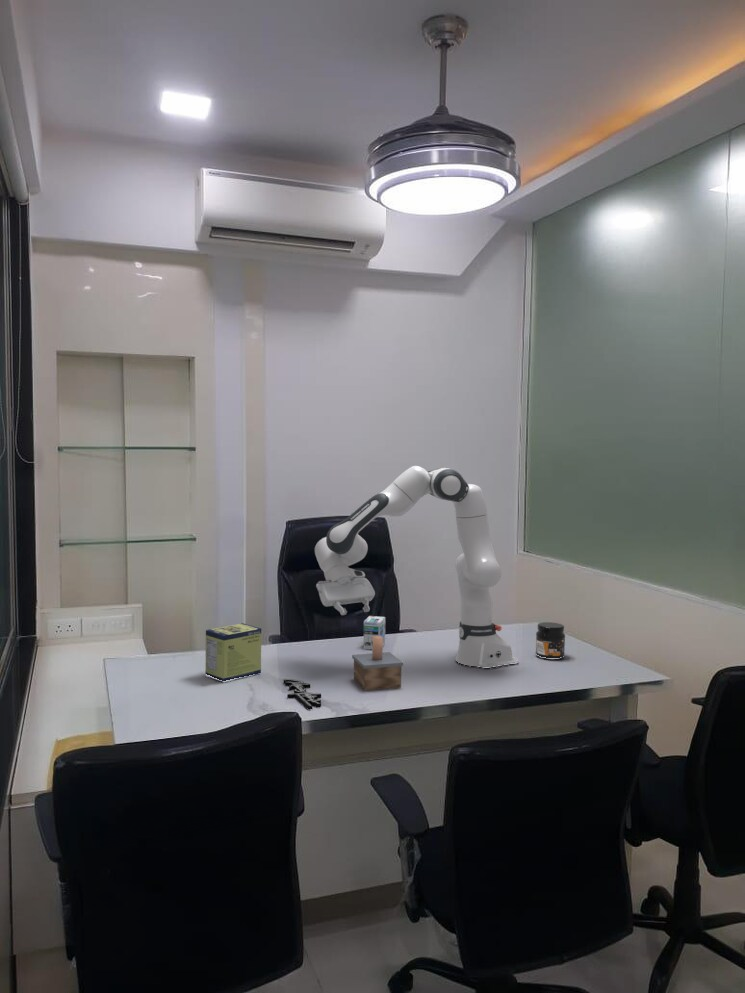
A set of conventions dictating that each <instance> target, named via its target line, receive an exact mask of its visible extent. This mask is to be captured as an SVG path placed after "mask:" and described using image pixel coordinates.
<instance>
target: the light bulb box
mask: <svg viewBox="0 0 745 993" xmlns="http://www.w3.org/2000/svg"><path fill="white" fill-rule="evenodd" d="M373 636H382V637H383V647H384V646H385V645H386V617H385V616H377V615H375V616H374V615H369V616H368V617H367V618H366V619H364V620H363V650H370V649H372V651H373ZM384 644H385V645H384Z"/></svg>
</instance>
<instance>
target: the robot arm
mask: <svg viewBox="0 0 745 993" xmlns="http://www.w3.org/2000/svg"><path fill="white" fill-rule="evenodd" d="M428 494H429V495H431V496H433V497H435V498H437V499H439V500H442V501H443V500H445V501H450V502H452V503H453V506H454V510H455V511H454V512H455V520H456V521H455V522H456V528H457V529H456V530H457V536H458V542H459V543H460V546H461V548H462V553H461V554H460V555H458V556H457V559H456V560H455V570H456V574H457V580H458V587H459V594H460V621H459V627H458V638H459V641H458V649H457V653H456V656H455V660H456V661H457V662H458V663H457V662H456V661H455V662H456V663H457V664H459V663H461V664H464V665H463V666H465V665H470V666H469V667H471V666H480V667H493V666H498V665H504V664H510V663H515V662H518V663H519V659H518V658H517V657H515V656H514V655H513V650H512V647H511V644H510V643H509V642H508V641H507V640H505V639H504V638H502V637H501V636H500V635H499V634H498V633H497V632H501V631H502V629H503V628H502V627H503V626H501V625H499V624H495V623H493V599H492V597H491V592H490V588H491V587H494V586H496V585H497V584H498V583H499V582H500V581H501V578H502V569H501V566H500V565H499V562H498V559H497V556H496V554H495V553H496V552H495V550H494V546H493V543H492V538H491V534H490V533H491V532H490V527H489V526H490V525H489V518H488V510H487V504H486V503H487V502H486V501H485V496H484V492H483V490H482V488H481V487H480V486H479V485H477V484H474V483H473V484H472V483H467V482H466V480H465V478H464V477H463V476H462V474H460V473H459V472H458V471H457V470H455V469H452V468H448V467H441V468H434V469H433V470H428V471H427V470H426V469H425V468H424V467H421V466H419V465H412V466H410V467H409V468H407V469H406V470H404V471H403V472H402V473H400V474H399V475H398V476H397V477H396V478H394V480H393V481H392V482H391V483H390V484H389V485H388V486H386V488H385V489H383V490H382V491H381V492H379V493H377V494H375V495H373V496H371V497H370V498H369V499H367V501H365V502H364V503H362V505H361V506H359V507H358V508H357V509H356V510H355V511H354V512H352V513H351V514H350V515H349V516H348V517H346V518H344V519H343V520H342V521H339V522H337V523H336V524H334V525H332V526H331V527H330V529H329V530H328V532H327V534H326V536H325V537H322V538H321V539H319V540H318V541H317V543H316V545H314V546H315V547H314V555H315V557H316V560H317V562H318V565H319V568H320V569H321V571H323V575H324V578H325V580H319V581H318V582H317V583H316V585H315V587H316V589H317V592H318V595H319V599H320V602H321V603H322V605H323V606H324V607H333V608H334V609H335V610H337V611H338V612H339V613H340V615H341V616H345V615H347V613H348V610H347V609H346V607H343V606H342V605H348V604H349V605H350V604H355V603H356V604H357V603H362V604H363V605H364V606H363V607H362V610H363V612H364V613H367V612H368V613H369V612H370V609H371V608H370V606H369V604H370V602H371V601H372V600H373V599H374V597H375V595H376V591H375V589H374V587H373V586H372V584H371V582H370V581H369V580H368V579H367V578H366V574H365V572H364V571H362V570H357V569H354V568H351V567H350V566H352V565H355V564H357V563H360V562H361V561H362V560H363V559H365V557H366V556H367V554H368V550H369V546H368V542H367V541H366V540H365V539H364V538H363V537H362V536H361V535H359V533H360V532H361V531H362V530H363V529H364V528H365V527H367V525H369V524H370V523H371V522H372V521H374V520H375V519H376V518H378V517H381V516H388V517H390V516H391V517H401V516H403V515H405V514H406V513H408V512H409V511H410V510H411V509H412V508H413V507H414V506H415V505H416V504H417V503H418V502H419V500H420V499H421V498H423V497H425V496H426V495H428ZM514 659H516V660H514ZM461 664H460V665H461Z"/></svg>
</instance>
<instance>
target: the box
mask: <svg viewBox="0 0 745 993" xmlns="http://www.w3.org/2000/svg"><path fill="white" fill-rule="evenodd" d="M353 680H354V681H355V682H356V683H357V684H358V685H359V686H360V687H361V688H362V689H363V690H364V691H370V690H371V691H373V690H382V689H383V690H385V689H394V688H401V687H402V666H393V667H381V668H368V669H364V668H363V667H362V666H361V665H360V664H358V663H357V662H356V661H355V660H354V659H353Z"/></svg>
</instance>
